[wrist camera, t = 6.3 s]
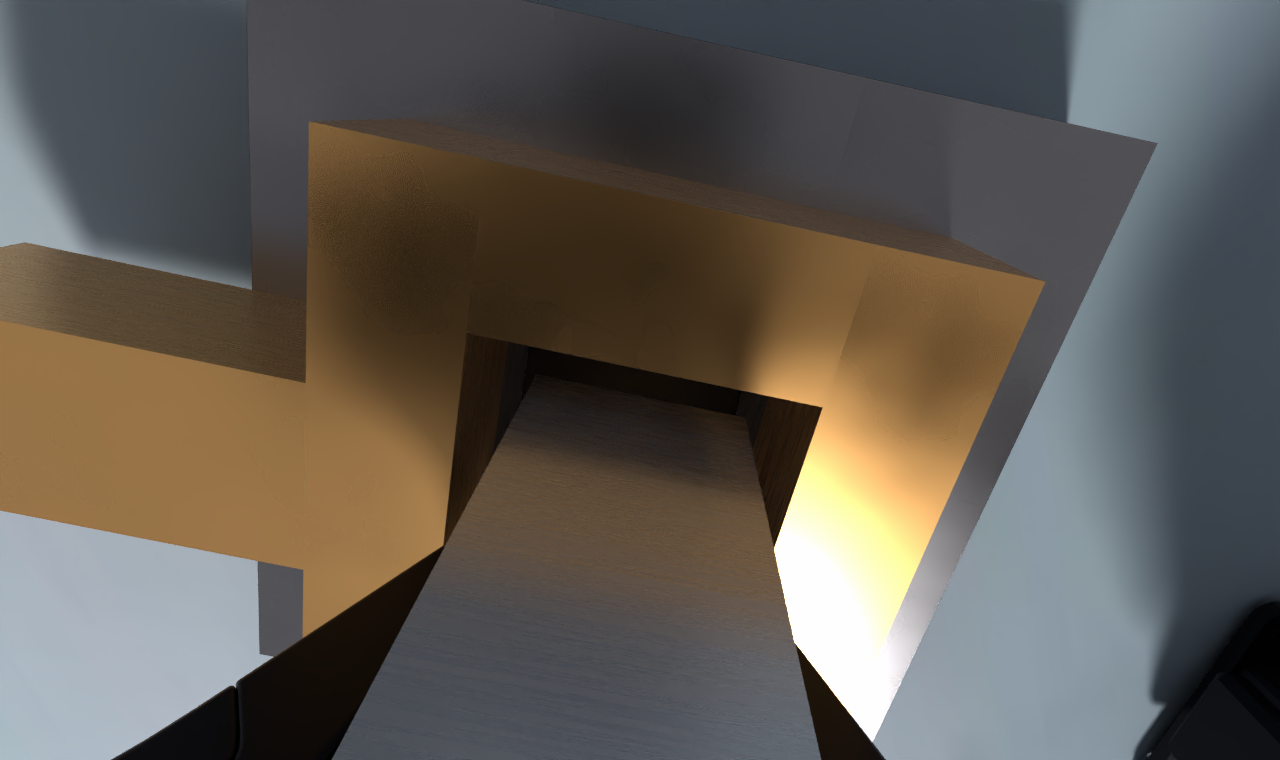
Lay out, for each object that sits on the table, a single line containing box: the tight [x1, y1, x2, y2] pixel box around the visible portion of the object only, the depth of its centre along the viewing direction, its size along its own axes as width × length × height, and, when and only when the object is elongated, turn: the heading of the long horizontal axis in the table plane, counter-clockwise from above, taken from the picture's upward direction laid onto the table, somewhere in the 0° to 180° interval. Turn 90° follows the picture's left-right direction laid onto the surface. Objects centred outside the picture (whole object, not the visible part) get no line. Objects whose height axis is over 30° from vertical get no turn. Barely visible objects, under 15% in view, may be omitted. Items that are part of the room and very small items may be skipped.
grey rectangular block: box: [332, 374, 821, 760], centre depth 7 cm, size 3×4×9 cm
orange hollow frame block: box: [0, 0, 1157, 742], centre depth 12 cm, size 18×14×6 cm
